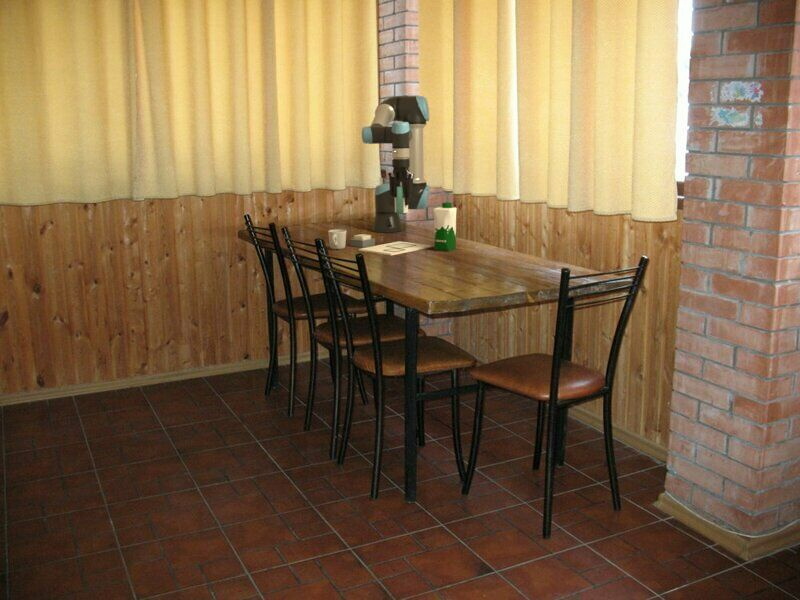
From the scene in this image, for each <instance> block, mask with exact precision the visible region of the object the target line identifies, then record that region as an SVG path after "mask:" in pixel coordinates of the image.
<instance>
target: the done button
mask: <svg viewBox="0 0 800 600" xmlns="http://www.w3.org/2000/svg"><path fill="white" fill-rule="evenodd" d="M353 238H354V239H356V240H367V239H371V238H372V235H371V234H363V233H361V234H355V235H353Z"/></svg>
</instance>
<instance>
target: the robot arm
mask: <svg viewBox="0 0 800 600" xmlns="http://www.w3.org/2000/svg"><path fill="white" fill-rule="evenodd" d="M372 119H373V120H372V121H371V124H370V125H368V126H363V127H362V128H361V140H362V143H363V144H368V145H369V144H370V145H374V144H377V145H381V144H383V145H384V144H385V145H386V144H389V145H391V144H392V145H391V155H392V160H391V163H392V164H391V165H392V166H391V167H392V169H393V170H392V171H391V172H388V173H387V175H388V179H389V183H388V182H387V183H382V184H379V185H378V184H377V185H375V188H374V189H375V190H374V200H375V201H374V202H375V204H374V205H375V207H374V208H375V212H374V214H375V216H374V219H373V224H372V226H371V230H372V232H375V233H397V232H402V231H404V230H403V229H404V228H403V224H402V220H401V217H400V215H399V214H397V186H402V187H403V194H404V197H403V213H406V214H407V213H409V210H416V211H418V210H425V209H426V208H427V207H428V204H429V197H430V189H431V188H430V185H427V180H425V178H424V128H425V127H426V126H427V122H429V121H430V110H429V103H428V99H427V98H426V97H425V96H420V95H413V96H409V95H408V96H392V97H389V98H386V99H384V100H382V102H380V103H379V104H378V105H377V106H376V108H375V111H374V117H373V118H372ZM391 122H392V123H391ZM390 123H391V125H390ZM389 125H390V126H389Z"/></svg>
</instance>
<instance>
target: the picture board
mask: <svg viewBox="0 0 800 600" xmlns="http://www.w3.org/2000/svg"><path fill="white" fill-rule="evenodd" d="M430 248H432V244H431V245H429V244H422V243H415V242H406V241H393V242H390V243H384V244H377V245H374V246H369V247H363V248H362V247H360V248H359V249H358V252H364V253H372V254H378V255H385V256H397V255H400V254H405V253H411V252H415V251H420V250H425V249H430Z"/></svg>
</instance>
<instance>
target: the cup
mask: <svg viewBox="0 0 800 600" xmlns="http://www.w3.org/2000/svg"><path fill="white" fill-rule="evenodd" d="M327 235H328V242H329V243H328V244H329V248H330V249H332V250H336V249H338V250H343V249H345V248H346V245H347V244H346V241H347V230H346V229H342V228H341V229H329V230H328V231H327Z"/></svg>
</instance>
